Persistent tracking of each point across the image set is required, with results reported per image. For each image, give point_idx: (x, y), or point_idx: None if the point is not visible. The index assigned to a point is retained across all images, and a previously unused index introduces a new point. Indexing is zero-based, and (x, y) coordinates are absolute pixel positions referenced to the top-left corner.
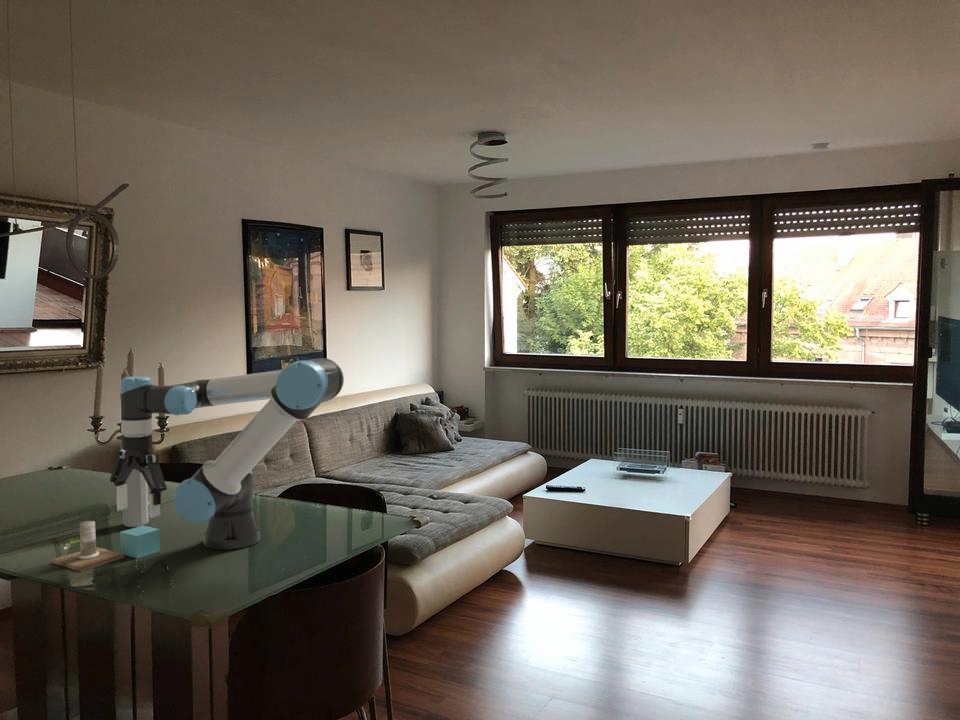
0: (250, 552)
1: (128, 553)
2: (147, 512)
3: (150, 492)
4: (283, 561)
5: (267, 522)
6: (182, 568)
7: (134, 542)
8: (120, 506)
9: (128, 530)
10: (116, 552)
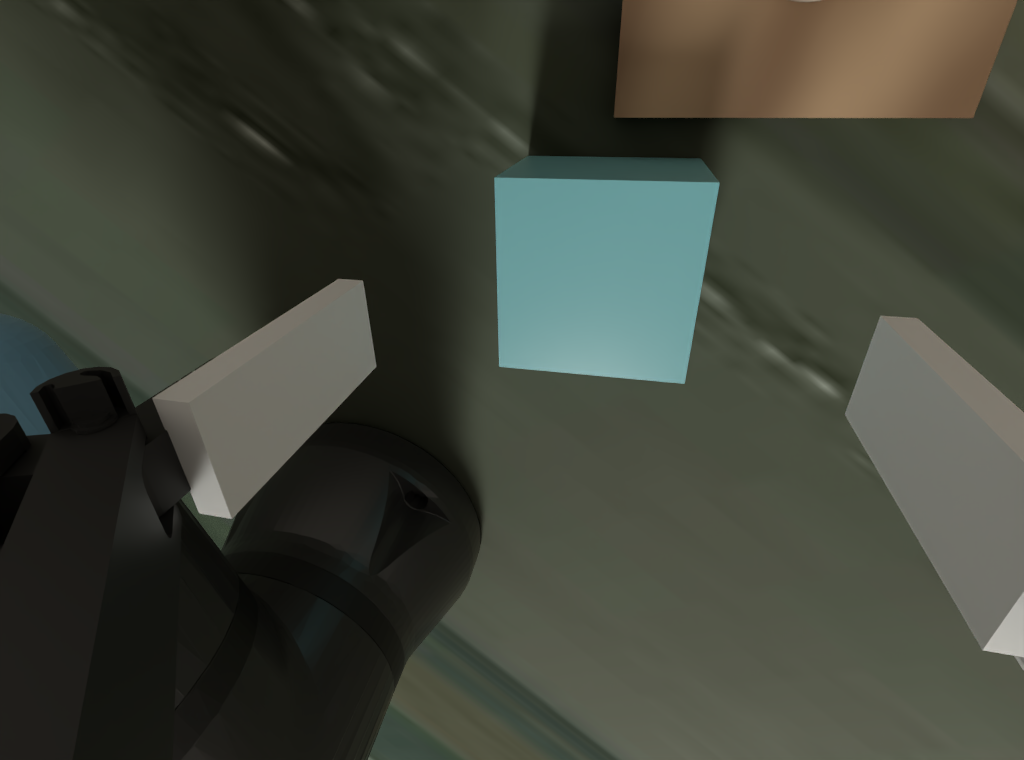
0: None
1: (614, 158)
2: (1017, 658)
3: (81, 377)
4: None
5: (466, 695)
6: (198, 170)
7: (536, 170)
8: (886, 355)
9: (684, 248)
10: (689, 111)
